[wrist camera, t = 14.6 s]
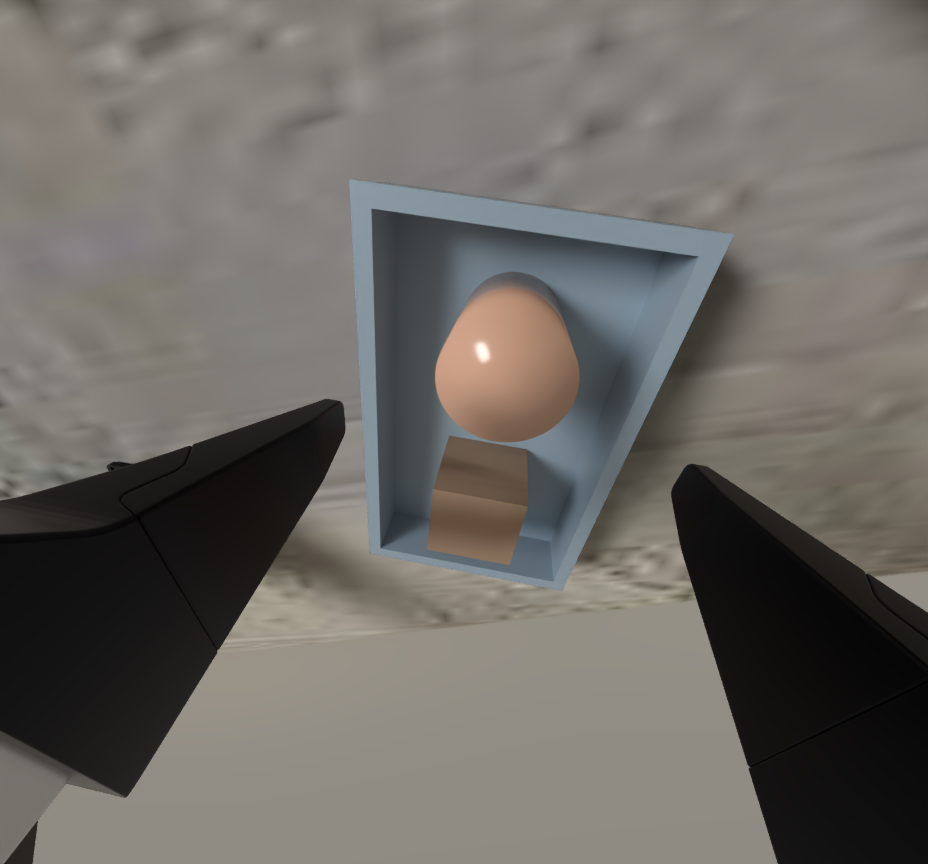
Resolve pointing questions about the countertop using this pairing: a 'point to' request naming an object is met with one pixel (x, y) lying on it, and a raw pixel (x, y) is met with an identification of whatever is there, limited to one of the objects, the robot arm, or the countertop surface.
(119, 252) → the countertop surface
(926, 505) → the countertop surface
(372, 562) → the countertop surface
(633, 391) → the tote
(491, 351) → the brown egg
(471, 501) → the walnut block
